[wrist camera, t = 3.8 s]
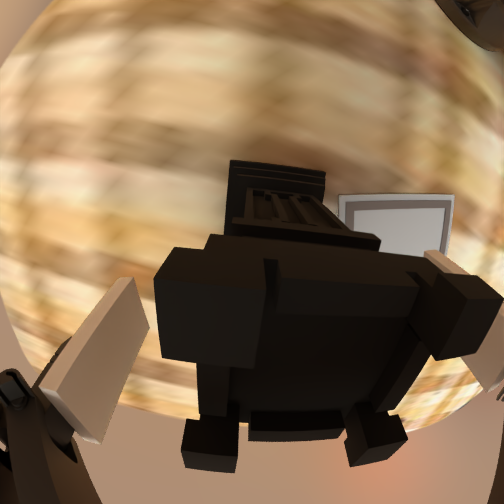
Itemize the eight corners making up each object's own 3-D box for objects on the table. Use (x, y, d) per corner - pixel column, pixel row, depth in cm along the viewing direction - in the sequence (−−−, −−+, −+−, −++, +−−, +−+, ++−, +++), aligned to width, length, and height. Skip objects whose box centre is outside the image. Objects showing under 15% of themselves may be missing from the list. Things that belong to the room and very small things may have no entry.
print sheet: (338, 195, 23) (339, 196, 23) (453, 194, 23) (455, 195, 22) (332, 322, 28) (333, 325, 28) (433, 305, 28) (435, 307, 28)
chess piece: (223, 247, 25) (174, 469, 7) (230, 159, 22) (126, 249, 4) (308, 256, 25) (391, 461, 7) (323, 171, 22) (517, 283, 4)
